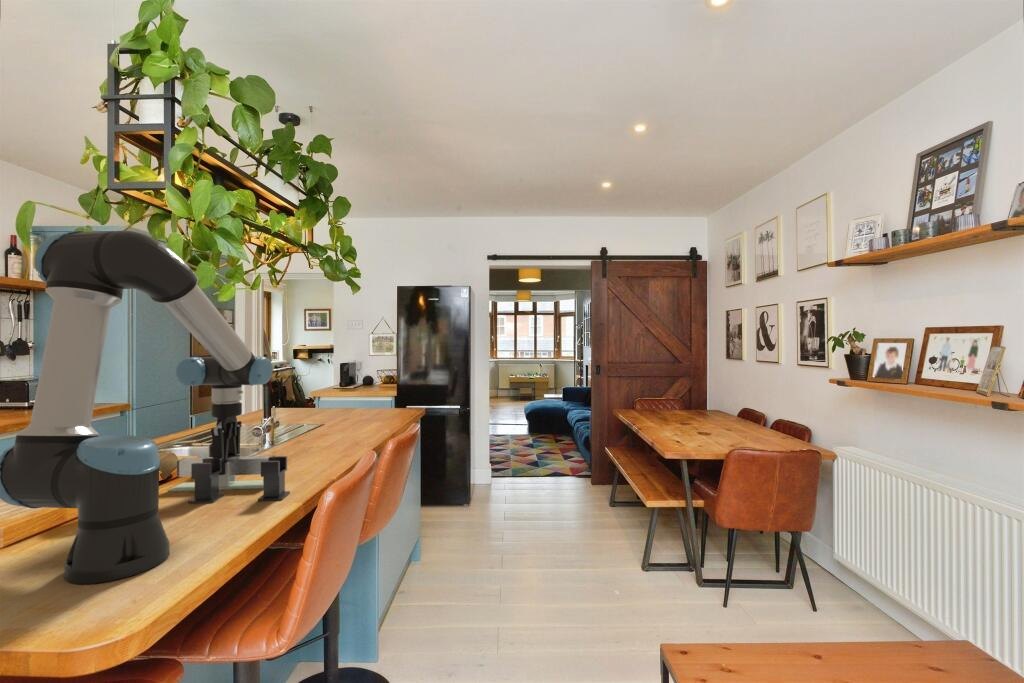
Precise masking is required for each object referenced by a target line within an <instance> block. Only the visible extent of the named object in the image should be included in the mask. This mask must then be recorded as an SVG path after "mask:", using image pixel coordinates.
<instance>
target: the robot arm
mask: <svg viewBox="0 0 1024 683" xmlns="http://www.w3.org/2000/svg"><path fill="white" fill-rule="evenodd" d="M33 262H34V267H35V268H34V269H35V271H36V272H38V273H39V274H38V277H39V278H40V279H41V281H42V282H43V283H44V284H45V289H44V290H45V291H44V292H45V293H46V294H47V295H49V297H50V298H51V299H52V300H53V305H52V311H51V315H50V320H49V326H48V330H47V335H46V342H45V346H44V351H43V356H42V357H43V358H42V361H41V366H40V372H39V378H38V380H37V381H38V382H37V387H36V392H35V397H34V403H33V407H32V413H31V418H30V422H29V424H28V426H26V427H24V428H23V429H21V430H20V431H18V432H17V433H16V435H15V440H14V444H13V445H11V446H10V447H8V448H6V449H5V450H4V451H3V452H2V454H1V455H0V499H1V500H2V501H3V502H4V503H6V504H8V505H12V506H16V507H22V508H23V507H24V508H27V509H28V508H29V509H43V508H46V509H47V508H51V509H52V508H53V509H55V508H56V509H77V532H76V534H75V537H74V539H73V542H72V545H71V547H70V550H69V552H68V555H67V558H66V560H65V562H64V569H63V571H64V572H63V574H64V577H63V578H64V580H65V581H66V582H69V583H71V584H77V585H78V584H79V585H80V584H81V585H82V584H83V585H84V584H86V585H87V584H89V585H90V584H100V583H106V582H111V581H112V582H113V581H116V580H120V579H121V580H122V579H125V578H128V577H131V576H135V575H138V574H140V573H142V572H146V571H149V570H150V569H153V568H155V567H157V566H158V565H160V564H161V563H163V562H164V561H166V560H167V559H168V558H169V556H170V547H171V546H170V540H169V538H168V536H167V533H166V530H165V528H164V525H163V523H162V521H161V519H160V516H159V505H160V504H159V502H160V501H159V500H160V499H159V498H160V497H159V495H160V494H159V493H160V482H159V465H160V459H159V457H158V453H159V447H158V445H157V443H156V442H155V441H154V440H153V439H150V438H148V437H145V436H138V435H131V434H130V435H129V434H124V435H122V434H121V435H114V434H112V435H111V434H109V435H100V433H99V432H98V431H96V429H94V427H93V426H92V419H93V413H94V406H95V403H96V402H95V401H96V397H97V396H96V395H97V389H98V384H99V379H100V372H101V366H102V362H103V361H102V360H103V356H104V349H105V343H106V337H107V331H108V324H109V320H110V313H111V310H112V309H113V308H114V307H116V306H118V305H120V304H121V303H122V299H123V294H124V290H129V289H133V290H138V291H141V292H143V293H145V294H146V295H148V296H149V298H151V300H152V301H153V302H155V303H158V304H162V305H165V307H166V308H167V309H168V310H169V311H170V312H171V313H172V315H174V316H175V317H176V319H177V320H178V321H179V322H180V323H181V324H182V325H183V326H184V328H186V330H187V331H189V333H190V334H191V335H192V336H193V337H194V338H195V339H196V341H198V342H199V344H200V345H201V346H202V347H203V348H204V349H205V350H206V351H207V352H208V354H210V355H211V356H191V357H186V358H185V357H184V358H183V359H182V360H180V362H178V363H177V366H176V369H175V373H176V374H175V376H176V379H177V380H178V381H179V382H180V383H181V384H182V385H184V386H186V387H192V386H193V387H198V386H208V385H209V386H211V402H212V405H211V416H212V417H213V418H216V419H217V420H216V426H215V427H213V428H211V429H210V434H211V436H212V438H211V440H212V442H211V443H212V446H213V458H222V472H220V473H219V486H228V485H229V482H235V481H237V477H236V476H237V475H229V462H227V458H228V457H241V456H240V453H241V429H242V421H241V420H239V421H238V419H237V418H238V416H239V417H240V416H241V415H242V413H243V403H242V402H240V401H242V400H243V399H242V398H243V397H242V396H243V393H244V391H243V390H242V389H243V388H242V386H252V387H253V386H257V385H260V386H261V385H266V384H267V383H269V381H270V380H271V377H272V376H273V372H274V370H273V364H272V363H273V362H271V360H270V359H269V358H267V357H265V356H260V355H258V356H256V355H254V354H253V352H252V351H251V350H250V349H249V347H248V346H247V345H246V343H245V342H244V341H243V340H242V338H240V336H239V335H238V334H237V332H236V331H235V330H234V328H233V327H232V326H231V325H230V323H229V322H228V321H227V320H226V318H225V317H224V316H223V314H222V313H221V312H220V311H219V310H218V309H217V307H216V306H215V305H214V303H213V302H212V301H211V300H210V298H208V296H207V295H206V294H205V292H204V291H203V290H202V289H201V288H200V287H199V285H198V283H199V277H198V276H197V274H196V273H195V272H194V271H193V269H192V268H191V267H190V266H189V265H188V264H187V263H186V261H184V260H183V258H181V257H180V256H179V255H178V254H177V253H176V252H174V251H173V250H172V249H170V248H169V247H167V245H165V244H163V243H162V242H160V241H158V240H157V239H155V238H153V237H151V236H148V235H146V234H143V233H141V232H137V231H133V230H115V231H114V230H113V231H109V230H108V231H105V230H104V231H101V230H100V231H84V230H73V231H68V232H62V233H56V234H54V235H51V236H48V237H47V238H46V239H44V240H43V241H42V242H41V243H40V244H39V246H38V247H37V249H36V251H35V255H34V261H33ZM99 435H100V436H99Z"/></svg>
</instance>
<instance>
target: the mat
mask: <svg viewBox="0 0 1024 683" xmlns="http://www.w3.org/2000/svg"><path fill="white" fill-rule="evenodd" d="M253 489H254V490H258V489H263V480H261V479H260V480H236V481H235V482H229V485H228V486H219V491H223V490H224V491H225V490H230V491H231V490H253ZM192 491H193V492H195V482H181V483H179V484H177V485H175V486H172V487H171V488H169V489H167V492H168V493H169V492H192Z"/></svg>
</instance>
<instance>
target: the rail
mask: <svg viewBox="0 0 1024 683" xmlns="http://www.w3.org/2000/svg"><path fill="white" fill-rule="evenodd" d="M272 456H273V455H251V456H245V455H244V456H240V457H228V458H227V462H229V475H236V476H247V475H249V476H252V475H261V462H262V461H269V457H272ZM204 458H213V457H209V456H208V457H207V456H206V457H205V456H204V457H183V458H181V459H178V461H177V470H176V477H177V478H179V477H180V478H182V477H184V478H186V477H191V464H193V463H203V459H204Z"/></svg>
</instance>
